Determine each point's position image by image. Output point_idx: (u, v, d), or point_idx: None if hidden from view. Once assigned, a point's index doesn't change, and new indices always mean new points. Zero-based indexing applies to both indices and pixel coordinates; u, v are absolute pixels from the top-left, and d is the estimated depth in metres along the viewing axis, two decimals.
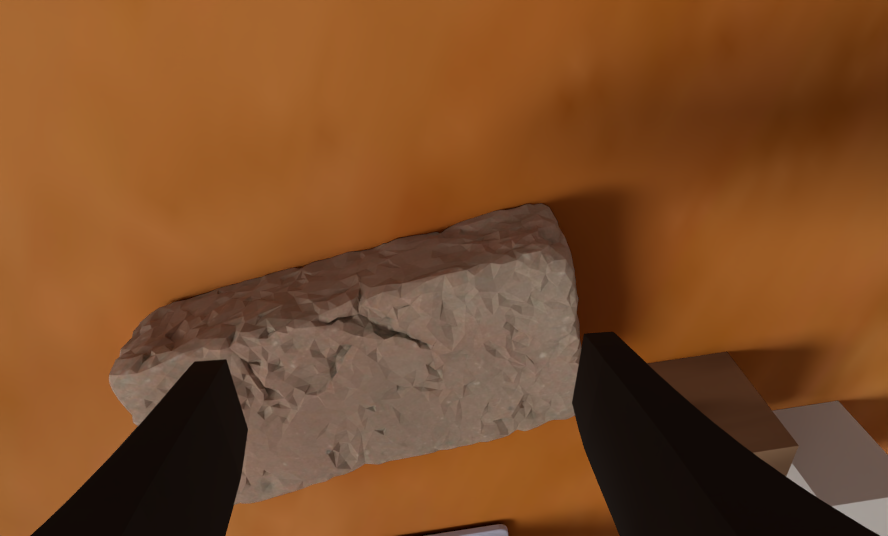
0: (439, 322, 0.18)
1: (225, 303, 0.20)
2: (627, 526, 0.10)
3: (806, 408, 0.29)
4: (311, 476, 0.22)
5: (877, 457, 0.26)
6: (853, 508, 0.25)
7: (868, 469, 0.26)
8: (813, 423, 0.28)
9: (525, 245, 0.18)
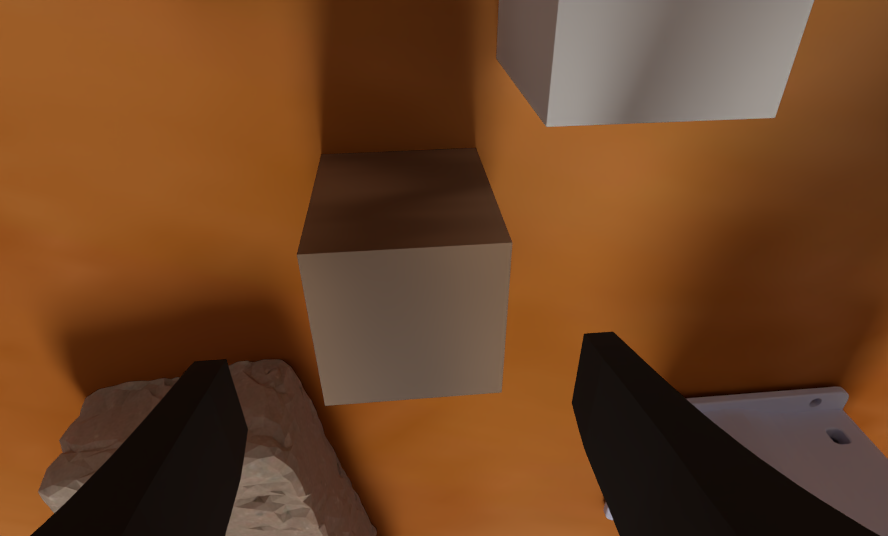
0: None
1: None
2: (627, 526, 0.10)
3: None
4: None
5: None
6: (584, 41, 0.09)
7: None
8: None
9: None
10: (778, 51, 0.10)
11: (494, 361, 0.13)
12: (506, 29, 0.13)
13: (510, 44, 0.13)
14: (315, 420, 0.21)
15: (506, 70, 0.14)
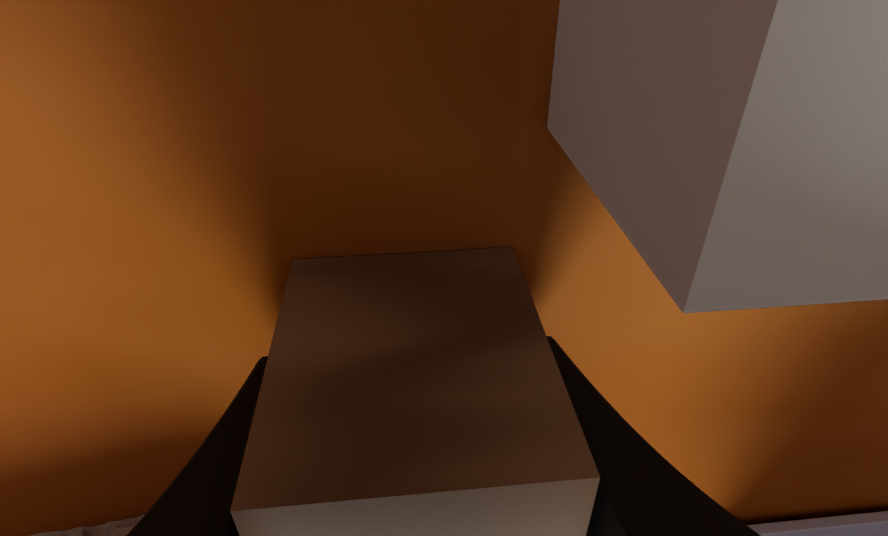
0: None
1: None
2: None
3: None
4: None
5: None
6: (782, 172, 0.05)
7: None
8: None
9: None
10: None
11: None
12: (572, 95, 0.08)
13: (581, 121, 0.08)
14: None
15: (570, 156, 0.09)
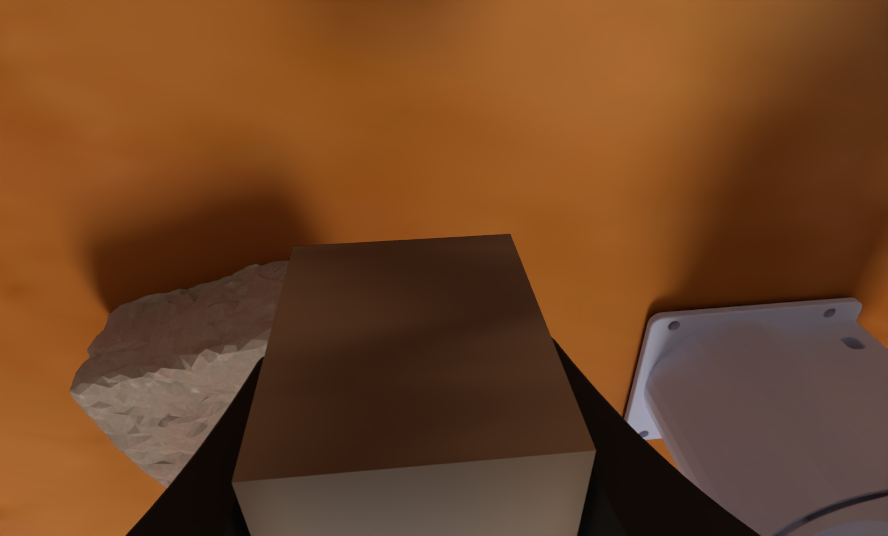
0: (178, 463, 0.20)
1: None
2: None
3: None
4: None
5: None
6: None
7: None
8: None
9: None
10: None
11: None
12: None
13: None
14: None
15: None
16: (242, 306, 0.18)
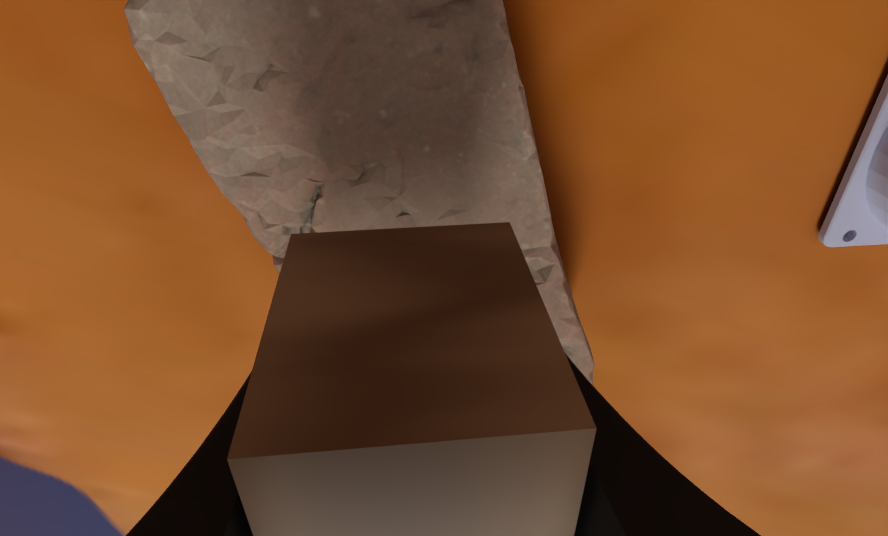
0: (276, 176, 0.14)
1: None
2: None
3: None
4: (554, 309, 0.17)
5: None
6: None
7: None
8: None
9: None
10: None
11: None
12: None
13: None
14: None
15: None
16: None
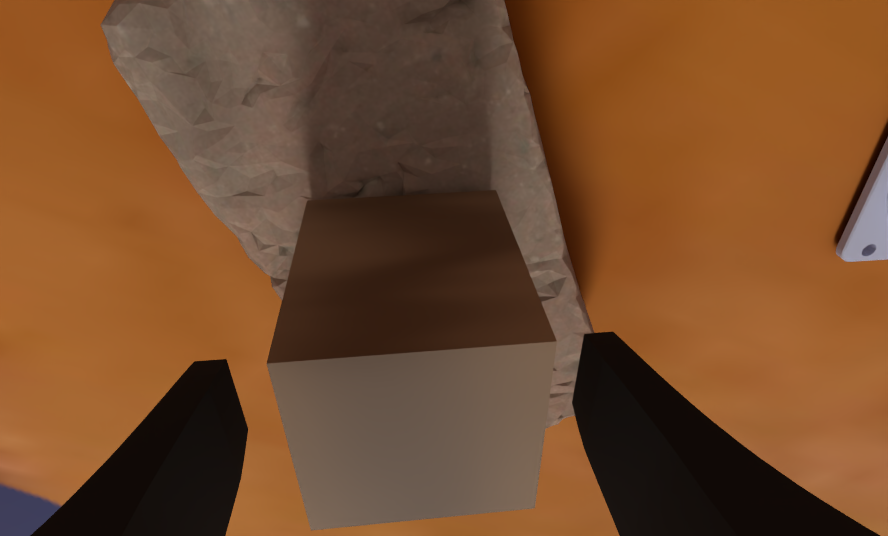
0: (270, 195, 0.13)
1: None
2: (627, 526, 0.10)
3: None
4: (567, 324, 0.16)
5: None
6: None
7: None
8: None
9: None
10: None
11: (527, 475, 0.10)
12: None
13: None
14: None
15: None
16: None
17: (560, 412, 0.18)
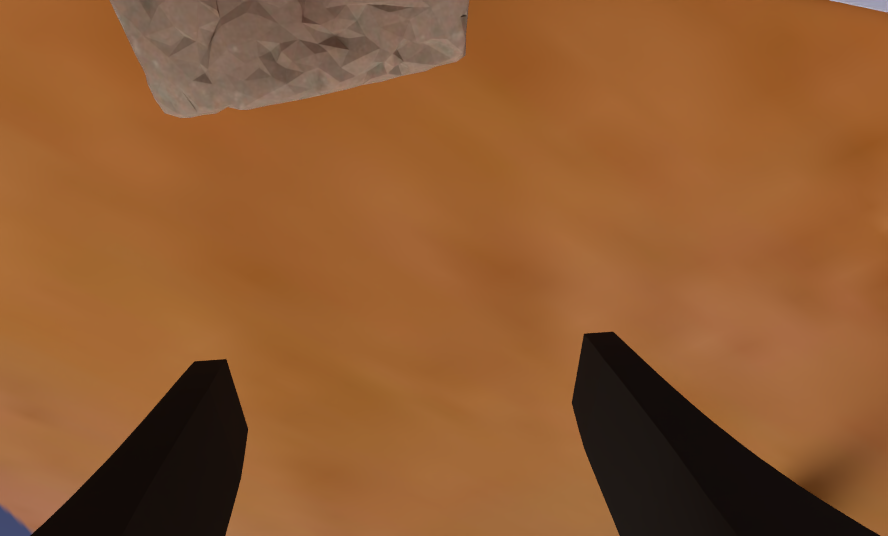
0: None
1: None
2: (627, 526, 0.10)
3: None
4: None
5: None
6: None
7: None
8: None
9: None
10: None
11: None
12: None
13: None
14: None
15: None
16: None
17: (397, 40, 0.13)
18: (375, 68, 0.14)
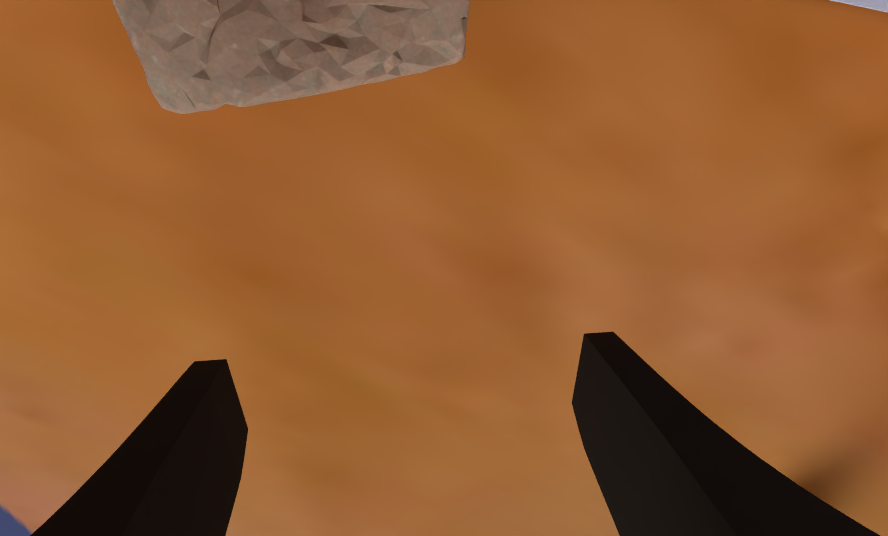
0: None
1: None
2: (627, 526, 0.10)
3: None
4: None
5: None
6: None
7: None
8: None
9: None
10: None
11: None
12: None
13: None
14: None
15: None
16: None
17: (397, 41, 0.13)
18: (374, 68, 0.14)
